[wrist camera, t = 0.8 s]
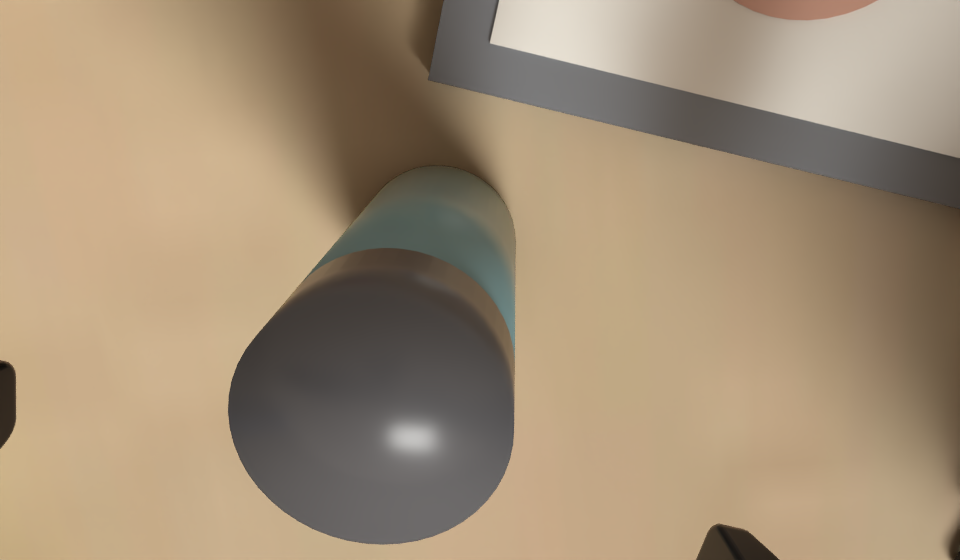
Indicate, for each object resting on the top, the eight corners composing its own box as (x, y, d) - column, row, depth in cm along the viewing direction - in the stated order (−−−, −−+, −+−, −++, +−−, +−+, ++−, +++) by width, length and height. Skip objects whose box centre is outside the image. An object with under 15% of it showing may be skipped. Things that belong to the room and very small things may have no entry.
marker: (532, 186, 18) (546, 332, 9) (495, 327, 19) (477, 569, 10) (376, 149, 17) (244, 262, 9) (351, 294, 19) (215, 511, 10)
